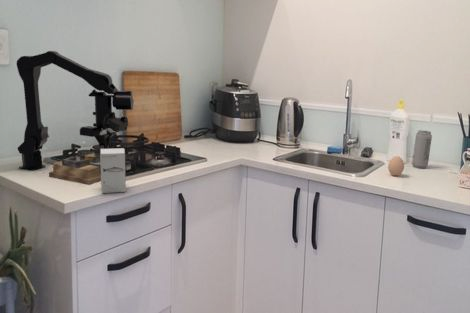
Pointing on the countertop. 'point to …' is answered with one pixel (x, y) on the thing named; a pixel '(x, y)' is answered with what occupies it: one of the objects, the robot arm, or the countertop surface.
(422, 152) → the energy drink can
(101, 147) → the yellow and black block
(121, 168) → the supplement box
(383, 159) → the countertop surface
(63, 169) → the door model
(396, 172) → the egg
